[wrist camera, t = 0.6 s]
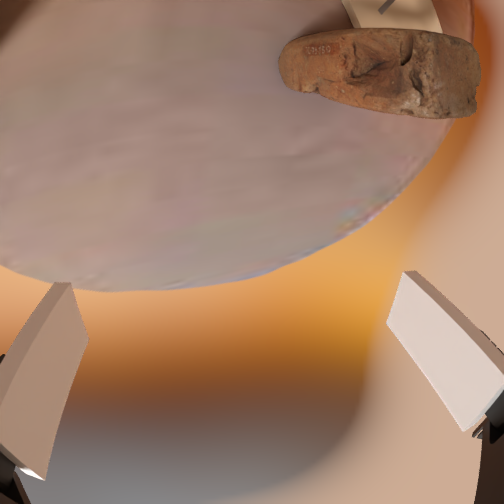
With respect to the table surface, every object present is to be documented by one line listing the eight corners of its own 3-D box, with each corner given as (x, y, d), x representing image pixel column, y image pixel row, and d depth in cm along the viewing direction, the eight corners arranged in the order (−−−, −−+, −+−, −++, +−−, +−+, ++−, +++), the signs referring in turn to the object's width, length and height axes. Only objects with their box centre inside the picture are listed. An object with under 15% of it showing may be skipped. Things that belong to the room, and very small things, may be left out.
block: (348, 38, 27) (486, 44, 11) (353, 91, 31) (486, 128, 15) (268, 38, 25) (400, 11, 9) (277, 98, 29) (407, 133, 14)
